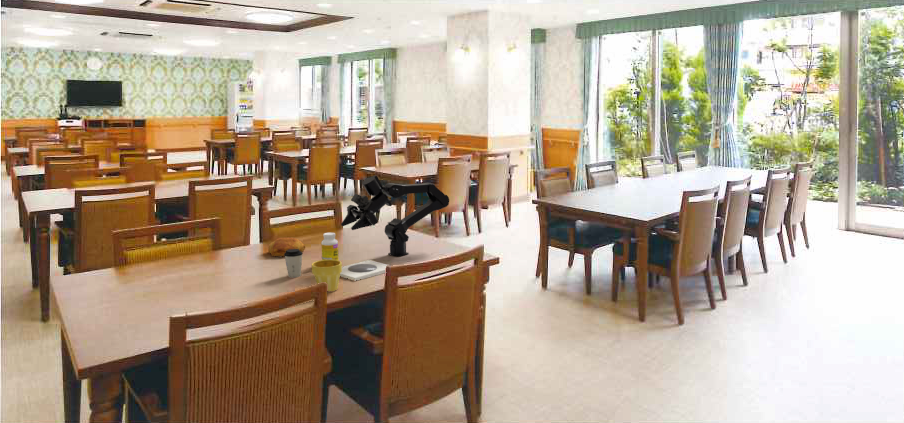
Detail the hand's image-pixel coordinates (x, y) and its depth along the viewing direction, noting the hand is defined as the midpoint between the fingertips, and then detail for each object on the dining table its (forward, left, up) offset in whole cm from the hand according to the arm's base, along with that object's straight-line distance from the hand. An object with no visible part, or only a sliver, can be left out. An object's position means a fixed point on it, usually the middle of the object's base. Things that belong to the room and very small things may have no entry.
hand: (346, 227), depth 254 cm
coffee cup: (+25, -1, -15) cm, 29 cm away
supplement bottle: (+6, -4, -15) cm, 17 cm away
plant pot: (+27, +23, -15) cm, 38 cm away
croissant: (+8, -34, -15) cm, 38 cm away
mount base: (+4, +14, -15) cm, 21 cm away
